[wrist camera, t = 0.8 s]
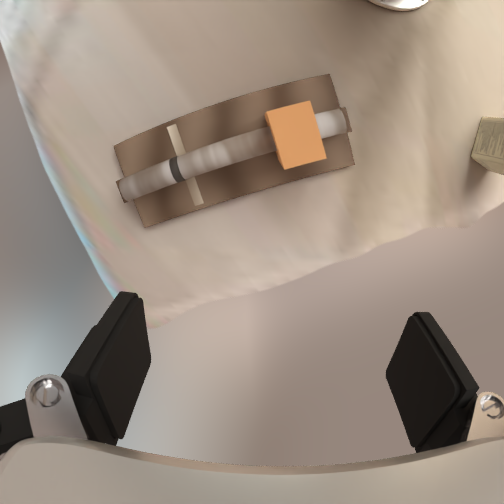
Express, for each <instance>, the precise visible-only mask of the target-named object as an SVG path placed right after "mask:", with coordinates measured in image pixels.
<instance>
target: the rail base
mask: <svg viewBox="0 0 504 504" xmlns="http://www.w3.org/2000/svg"><path fill="white" fill-rule="evenodd" d="M305 101H310V102H311V105H312V108H313V112H314V115H315V118H316V122H317V125H318V128H319V132H320V135H321V139H322V143H323V146H324V150H325V154H326V157H327V158H326V159H322V160H319V161H315V162H311V163H307V164H303V165H300V166H296V167H293V168H289V169H285V170H284V168H283V167H282V165H281V163H280V162H279V160H278V157H277V154H276V151H277V149H276V145H275V142H274V139H273V136H272V133H271V129H270V126H268V125H267V122H266V119H265V116H264V115H265V113H266V112H267V111H271V110H274V109H278V108H282V107H285V106H289V105H293V104H297V103H301V102H305ZM347 132H352V129H351V126H350V122H349V118H348V115H347V111H346V108H345V107H344V108H340V106H339V102H338V99H337V96H336V93H335V89H334V86H333V83H332V80H331V77H330V74H327V75H322V76H317V77H312V78H308V79H303V80H299V81H295V82H290V83H286V84H282V85H278V86H275V87H271V88H267V89H264V90H260V91H256V92H253V93H250V94H246V95H243V96H240V97H236V98H233V99H230V100H227V101H224V102H221V103H218V104H215V105H212V106H209V107H206V108H203V109H201V110H198V111H195V112H192V113H190V114H187V115H184V116H182V117H179V118H177V119H174V120H172V121H169V122H167V123H164V124H162V125H159V126H157V127H155V128H152V129H150V130H148V131H145V132H143V133H141V134H138V135H136V136H134V137H132V138H130V139H127V140H125V141H123V142H121V143H119V144H117V145H115V146H114V149H115V152H116V155H117V158H118V160H119V163H120V166H121V169H122V171H123V174H124V177H125V178H122V179H120V180H118V181H116V183H117V186H118V189H119V191H120V194H121V196H122V199H123V201H124V203H125V202H128V201H131V200H134V203H135V205H136V208H137V210H138V212H139V215H140V217H141V220H142V222H143V225H144V227H145V228H146V227H149V226H151V225H154V224H157V223H160V222H163V221H166V220H169V219H172V218H175V217H178V216H181V215H184V214H187V213H190V212H193V211H196V210H199V209H202V208H205V207H208V206H211V205H214V204H218V203H221V202H224V201H227V200H230V199H234V198H237V197H240V196H243V195H247V194H250V193H253V192H257V191H260V190H263V189H267V188H270V187H274V186H277V185H281V184H284V183H288V182H291V181H295V180H298V179H302V178H306V177H309V176H313V175H317V174H321V173H324V172H328V171H332V170H336V169H340V168H344V167H348V166H352V165H355V163H354V159H353V154H352V150H351V146H350V142H349V138H348V135H347Z"/></svg>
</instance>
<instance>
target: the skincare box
mask: <svg viewBox="0 0 504 504" xmlns="http://www.w3.org/2000/svg"><path fill="white" fill-rule="evenodd" d="M471 157H472V158H473V159H474V160H475V161H477V162H478V163H479V164H481V165H482V166H483V167H485V168H486V169H488V170H489V171H492V172H496V173H499V174H502V175H504V118H494V117H482V119H481V123H480V126H479V130H478V133H477V137H476V140H475V144H474V147H473V151H472V154H471Z"/></svg>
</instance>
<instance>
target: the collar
mask: <svg viewBox="0 0 504 504" xmlns="http://www.w3.org/2000/svg"><path fill="white" fill-rule="evenodd" d="M264 116H265V119H266V122H267V125H268V126H270V129H271V133H272V136H273V139H274V142H275V145H276V149H277V151H276V154H277V157H278V160H279V162H280V163H281V165H282V167H283V168H284V170H285V169H289V168H293V167H296V166H300V165H303V164H307V163H311V162H315V161H319V160H322V159H326V158H327V157H326V154H325V150H324V146H323V143H322V139H321V135H320V132H319V128H318V125H317V122H316V118H315V115H314V112H313V108H312V105H311V102H310V101H305V102H301V103H297V104H293V105H289V106H285V107H282V108H278V109H274V110H271V111H267V112H266V113H265V115H264Z"/></svg>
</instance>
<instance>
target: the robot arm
mask: <svg viewBox="0 0 504 504" xmlns="http://www.w3.org/2000/svg"><path fill="white" fill-rule="evenodd" d="M368 1H370V2H372V3H374V4H376V5H379V6H382V7H384V8H387V9H392V10H397V11H410V10H414V9H417V8H419V7H421V6H423V5H425V4H426V3H427V2H428V1H429V0H368ZM150 363H151V353H150V347H149V341H148V335H147V328H146V321H145V313H144V306H143V300H142V298H138V295H137V294H136V293H131V292H123V291H121V292H119V294H118V295H117V296H116V298H115V299H114V301H113V302H112V304H111V305H110V307H109V308H108V309H107V311H106V312H105V314H104V315H103V317H102V318H101V320H100V321H99V323H98V324H97V325H95V326H94V327H93V328H92V329H91V330H90V332H89V333H88V335H87V336H86V338H85V339H84V341H83V343H82V344H81V346H80V347H79V349H78V350H77V352H76V353H75V355H74V356H73V358H72V359H71V361H70V363H69V364H68V366H67V367H66V369H65V371H64V372H63V374H62V376H61V377H59V376H57V375H51V374H48V375H42V376H40V377H37V378H35V379H34V380H33V381H31V383H30V384H29V385H28V387H27V389H26V393H25V399H22V400H19V401H16V402H13V403H10V404H7V405H4V406H1V407H0V504H504V400H503V399H502V398H501V397H500V396H499V395H497V394H495V393H492V392H483V393H481V394H480V395H479V396H477V394H476V392H477V391H478V389H479V386H478V385H477V383H476V381H475V380H474V378H473V377H472V375H471V373H470V372H469V370H468V368H467V367H466V365H465V364H464V362H463V361H462V359H461V358H460V356H459V354H458V353H457V351H456V350H455V348H454V347H453V345H452V344H451V342H450V341H449V339H448V338H447V336H446V335H445V334H444V332H443V331H442V329H441V328H440V326H439V325H438V324H437V322H436V321H435V319H434V318H433V316H432V315H431V314H430V313H429V312H415V313H414V314H413V315H412V316H410V317H409V318H408V321H407V324H406V326H405V328H404V330H403V333H402V335H401V338H400V341H399V343H398V345H397V347H396V350H395V352H394V354H393V356H392V358H391V361H390V363H389V365H388V368H387V370H386V379H387V381H388V384H389V386H390V389H391V392H392V394H393V397H394V399H395V402H396V405H397V408H398V410H399V413H400V416H401V419H402V421H403V424H404V427H405V430H406V433H407V436H408V439H409V441H410V444H411V446H412V447H415V450H416V453H415V454H410V455H405V456H399V457H393V458H387V459H380V460H374V461H365V462H356V463H347V464H335V465H319V466H250V465H234V464H222V463H212V462H211V463H210V462H203V461H195V460H187V459H181V458H175V457H169V456H162V455H157V454H151V453H146V452H141V451H136V450H132V449H127V448H123V447H118V446H116V444H117V441H118V438H119V439H123V437H124V435H125V432H126V429H127V427H128V424H129V420H130V418H131V415H132V412H133V409H134V407H135V404H136V401H137V399H138V396H139V393H140V391H141V388H142V385H143V383H144V380H145V377H146V375H147V372H148V369H149V367H150ZM105 443H106V444H105Z"/></svg>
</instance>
